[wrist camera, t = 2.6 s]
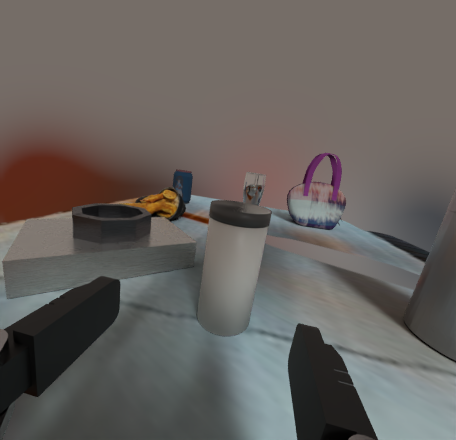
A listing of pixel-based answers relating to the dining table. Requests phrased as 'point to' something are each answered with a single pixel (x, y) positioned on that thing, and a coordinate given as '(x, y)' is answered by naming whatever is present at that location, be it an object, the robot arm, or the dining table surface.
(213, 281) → the canister
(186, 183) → the soda can
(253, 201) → the beer glass
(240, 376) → the dining table surface
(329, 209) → the handbag
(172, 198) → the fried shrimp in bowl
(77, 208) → the slab with octagonal socket
